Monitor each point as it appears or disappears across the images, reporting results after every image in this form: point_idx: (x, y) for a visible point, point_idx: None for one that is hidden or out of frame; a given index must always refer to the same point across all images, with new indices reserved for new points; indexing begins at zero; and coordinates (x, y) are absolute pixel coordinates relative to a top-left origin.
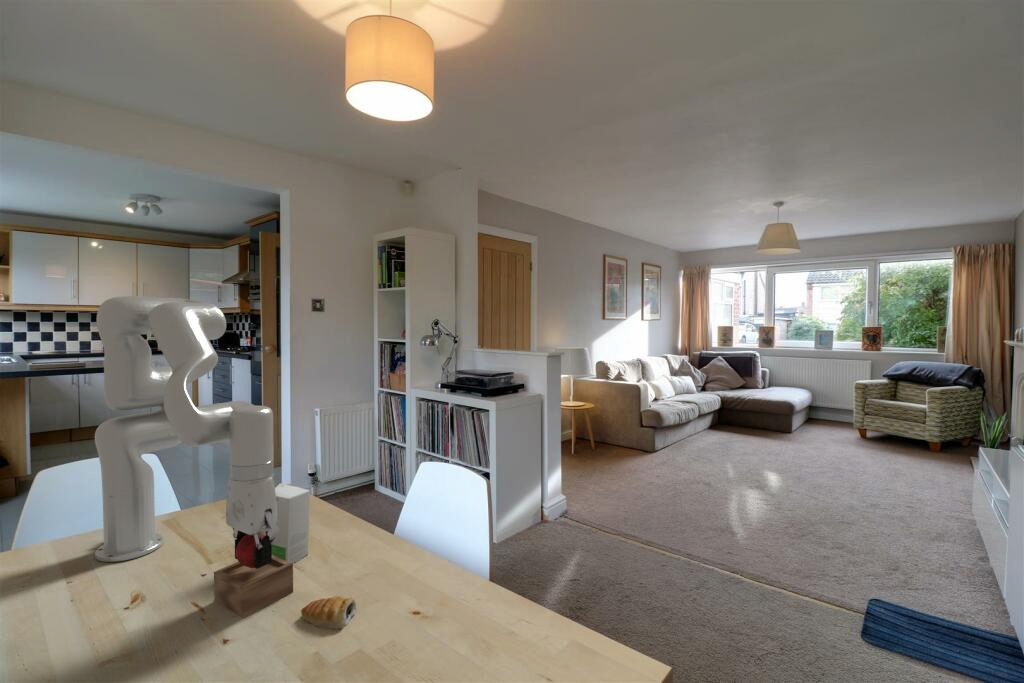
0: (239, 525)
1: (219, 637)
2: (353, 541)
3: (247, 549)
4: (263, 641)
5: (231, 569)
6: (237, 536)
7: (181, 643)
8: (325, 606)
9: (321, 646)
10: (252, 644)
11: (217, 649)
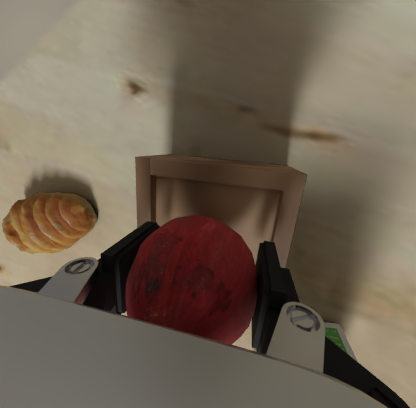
0: (69, 374)
1: (154, 88)
2: None
3: (149, 246)
4: (83, 125)
5: (276, 218)
6: (280, 315)
7: (202, 26)
8: (23, 213)
9: (14, 161)
10: (89, 109)
11: (123, 62)
